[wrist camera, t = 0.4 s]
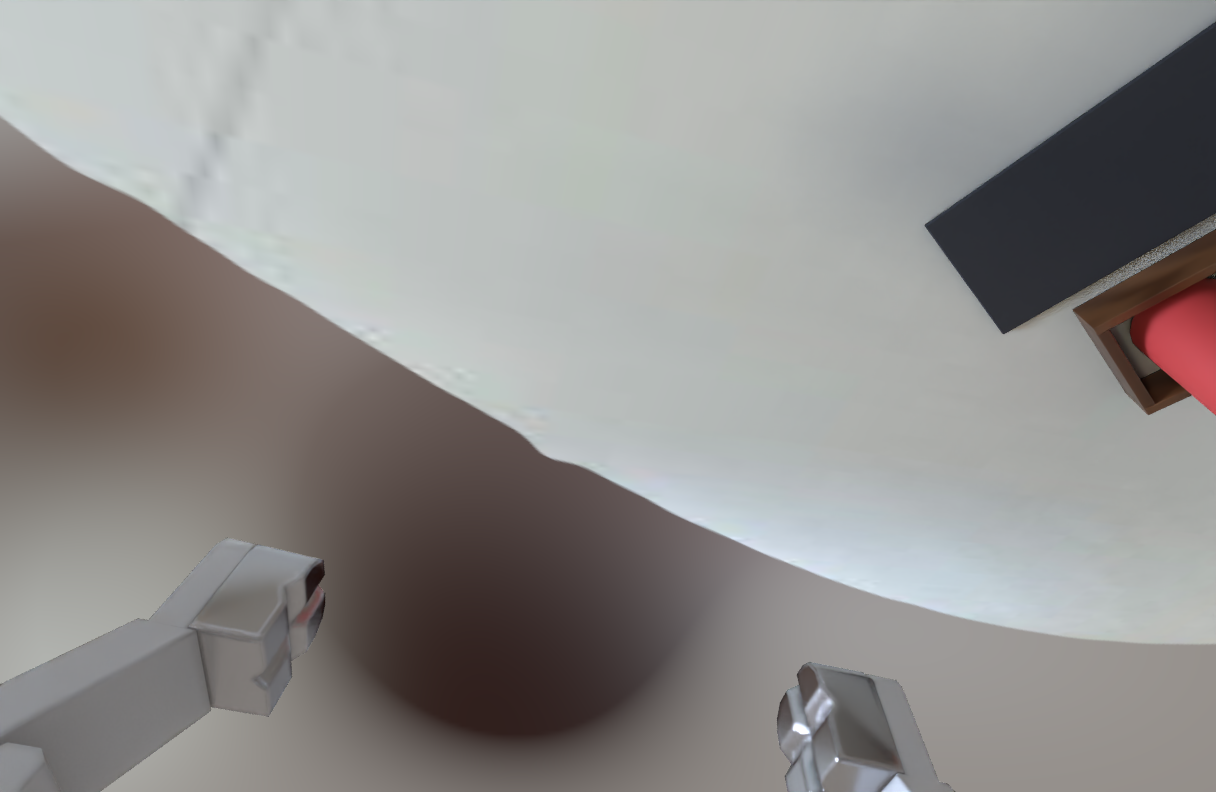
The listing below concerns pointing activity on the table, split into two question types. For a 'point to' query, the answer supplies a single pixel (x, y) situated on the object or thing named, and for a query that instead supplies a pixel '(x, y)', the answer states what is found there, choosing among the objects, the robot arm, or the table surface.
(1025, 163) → the mat
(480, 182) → the table surface
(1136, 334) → the beer can
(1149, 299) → the tray
